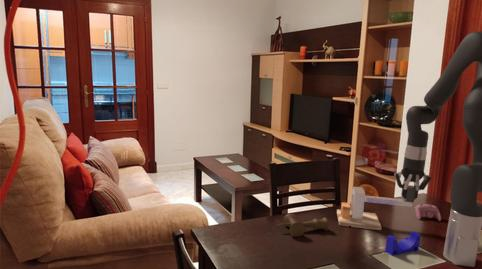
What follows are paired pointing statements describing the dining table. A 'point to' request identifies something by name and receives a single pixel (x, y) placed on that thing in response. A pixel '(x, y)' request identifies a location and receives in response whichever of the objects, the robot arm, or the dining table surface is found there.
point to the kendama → (303, 224)
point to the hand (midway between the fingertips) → (409, 198)
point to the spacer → (345, 210)
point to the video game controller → (427, 207)
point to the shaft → (392, 201)
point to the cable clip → (403, 244)
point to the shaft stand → (359, 213)
